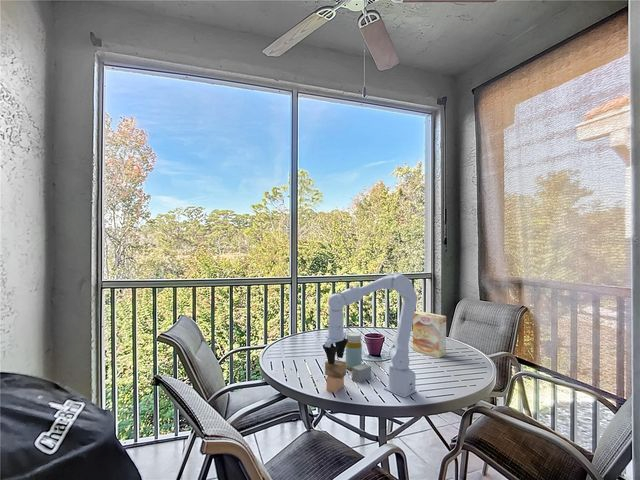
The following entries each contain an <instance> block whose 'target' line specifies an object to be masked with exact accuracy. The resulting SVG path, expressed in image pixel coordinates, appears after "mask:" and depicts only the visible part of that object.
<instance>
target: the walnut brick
mask: <svg viewBox="0 0 640 480" xmlns="http://www.w3.org/2000/svg"><path fill="white" fill-rule="evenodd" d="M324 375H325V376H326V377H327V376H332V377H336V378H340V379H342V378H343V377H344V378H345V376H347V367H346V361H342V360H338V359H335V362H334V364H333V365H332V364H328V359H327V360H326V361H325V362H324Z"/></svg>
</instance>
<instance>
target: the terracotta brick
mask: <svg viewBox="0 0 640 480" xmlns="http://www.w3.org/2000/svg"><path fill="white" fill-rule="evenodd" d="M344 382H345V376H344V377H343V378H342V379H340V378H336V377H332V376H327V375H326V391H328V392H332V393H337V392H338V391H339V390H341V389H342V387H344V385H345V383H344Z"/></svg>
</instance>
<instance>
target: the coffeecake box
mask: <svg viewBox="0 0 640 480" xmlns="http://www.w3.org/2000/svg"><path fill="white" fill-rule="evenodd" d="M412 351H415V352H418V353H421V354H425V355H428V356H431V357H435V358H442V357H444V356H446V355H447V354H446V353H447V316H446V315H442V314H436V313H432V312H426V311H422V310H419V311H415V313H414V318H413V323H412Z"/></svg>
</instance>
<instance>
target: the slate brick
mask: <svg viewBox="0 0 640 480" xmlns="http://www.w3.org/2000/svg"><path fill="white" fill-rule="evenodd" d="M371 378H372V366H371V365H369V364H366V363H362V364H360V365H358V366H355V367H352V370H351V380H352V381H355V382H357V383H362V382H364V381H367V380H369V379H371Z"/></svg>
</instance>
